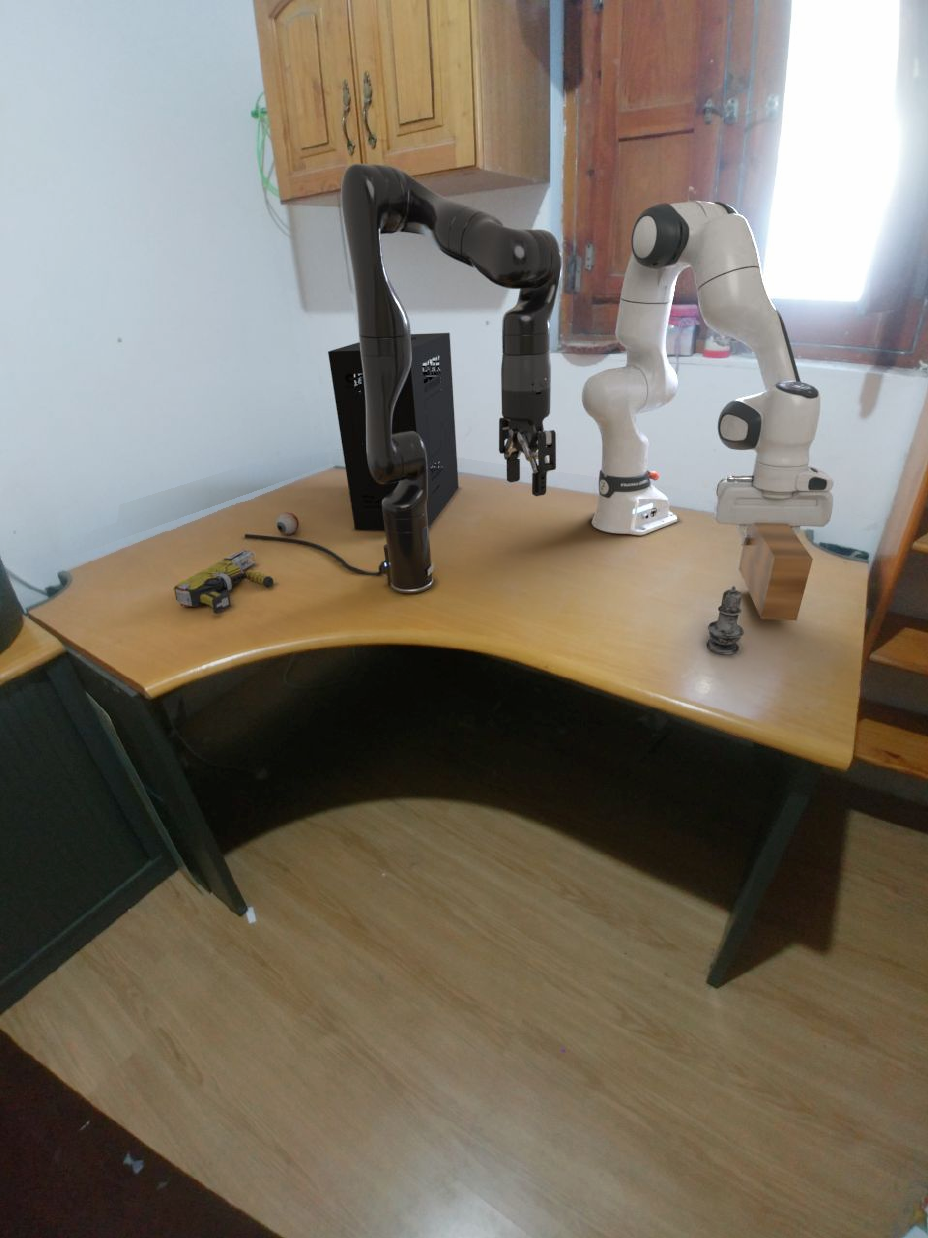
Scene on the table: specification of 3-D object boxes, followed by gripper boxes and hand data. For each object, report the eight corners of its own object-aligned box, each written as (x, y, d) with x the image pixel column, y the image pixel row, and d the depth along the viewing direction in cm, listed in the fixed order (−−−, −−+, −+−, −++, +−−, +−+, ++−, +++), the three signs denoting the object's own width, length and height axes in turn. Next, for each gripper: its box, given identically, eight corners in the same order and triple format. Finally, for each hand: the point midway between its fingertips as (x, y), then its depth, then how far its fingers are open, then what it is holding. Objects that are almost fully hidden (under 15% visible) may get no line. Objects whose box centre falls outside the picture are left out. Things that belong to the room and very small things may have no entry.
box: (738, 568, 125) (749, 513, 119) (769, 569, 124) (781, 514, 118) (760, 618, 107) (774, 557, 102) (796, 620, 106) (812, 558, 100)
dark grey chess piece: (743, 656, 104) (756, 594, 98) (707, 654, 105) (718, 593, 99) (737, 638, 109) (749, 578, 103) (702, 636, 110) (712, 577, 104)
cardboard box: (425, 532, 161) (409, 348, 139) (354, 529, 166) (327, 351, 143) (458, 487, 193) (449, 332, 170) (398, 486, 197) (382, 335, 175)
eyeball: (273, 537, 164) (268, 516, 161) (287, 528, 169) (282, 508, 166) (291, 539, 161) (286, 518, 158) (305, 530, 166) (301, 510, 163)
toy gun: (294, 557, 143) (240, 546, 147) (227, 600, 123) (168, 586, 127) (295, 575, 145) (243, 564, 149) (230, 620, 125) (172, 606, 129)
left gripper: (483, 381, 96) (486, 481, 104) (527, 394, 85) (527, 504, 93) (524, 376, 99) (524, 473, 107) (572, 387, 88) (568, 495, 96)
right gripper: (721, 480, 111) (710, 549, 118) (843, 481, 107) (824, 553, 114) (716, 470, 117) (706, 537, 124) (832, 471, 113) (815, 540, 119)
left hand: (525, 487), depth 100 cm, fingers open, 8 cm apart
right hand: (763, 545), depth 119 cm, fingers closed on box, 6 cm apart
